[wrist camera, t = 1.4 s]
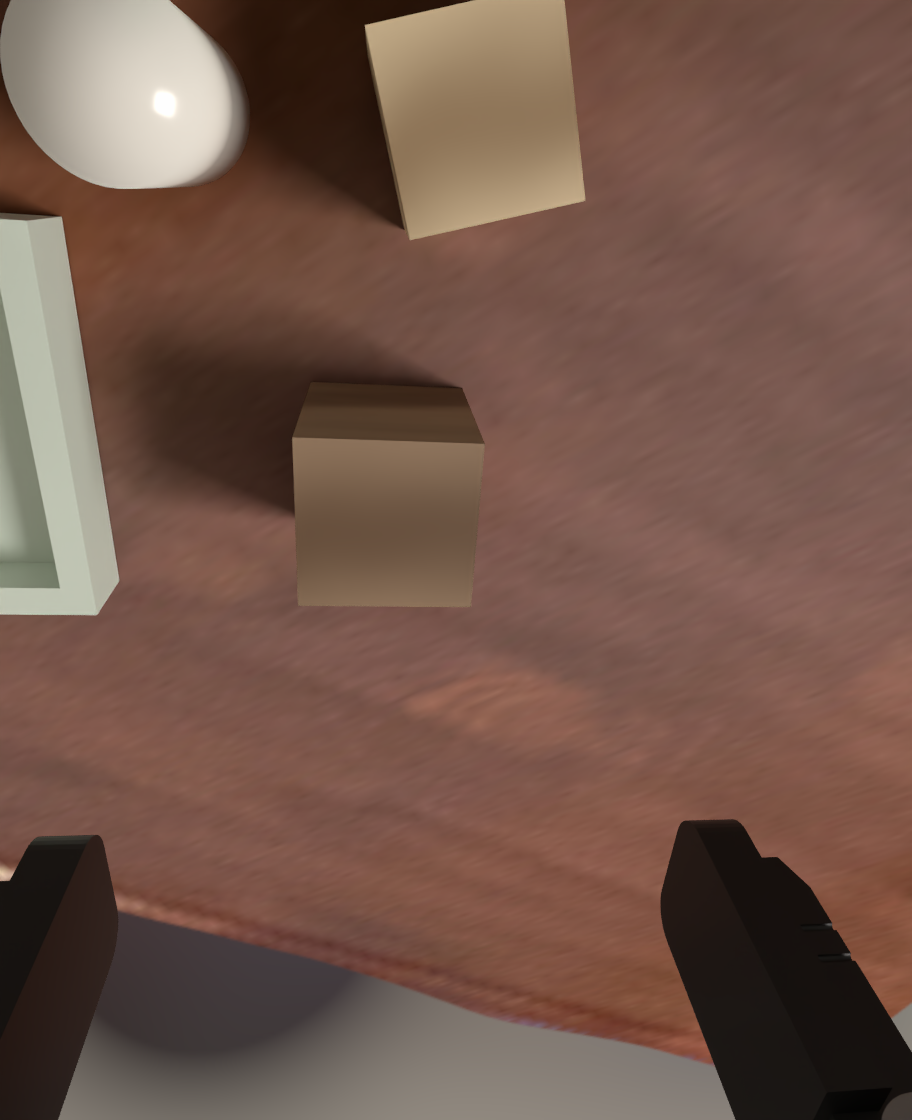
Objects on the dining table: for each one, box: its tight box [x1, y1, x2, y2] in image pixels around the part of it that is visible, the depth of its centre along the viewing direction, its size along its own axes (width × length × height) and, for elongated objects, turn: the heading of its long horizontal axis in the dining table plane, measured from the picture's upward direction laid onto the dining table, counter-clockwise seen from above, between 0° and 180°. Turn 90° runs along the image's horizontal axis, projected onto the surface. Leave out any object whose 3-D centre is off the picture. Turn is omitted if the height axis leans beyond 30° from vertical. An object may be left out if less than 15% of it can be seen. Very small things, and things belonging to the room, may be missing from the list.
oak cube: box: [365, 0, 585, 240], centre depth 20 cm, size 4×4×4 cm
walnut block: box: [292, 382, 485, 607], centre depth 23 cm, size 5×5×6 cm
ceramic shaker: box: [0, 0, 250, 189], centre depth 18 cm, size 4×4×6 cm
